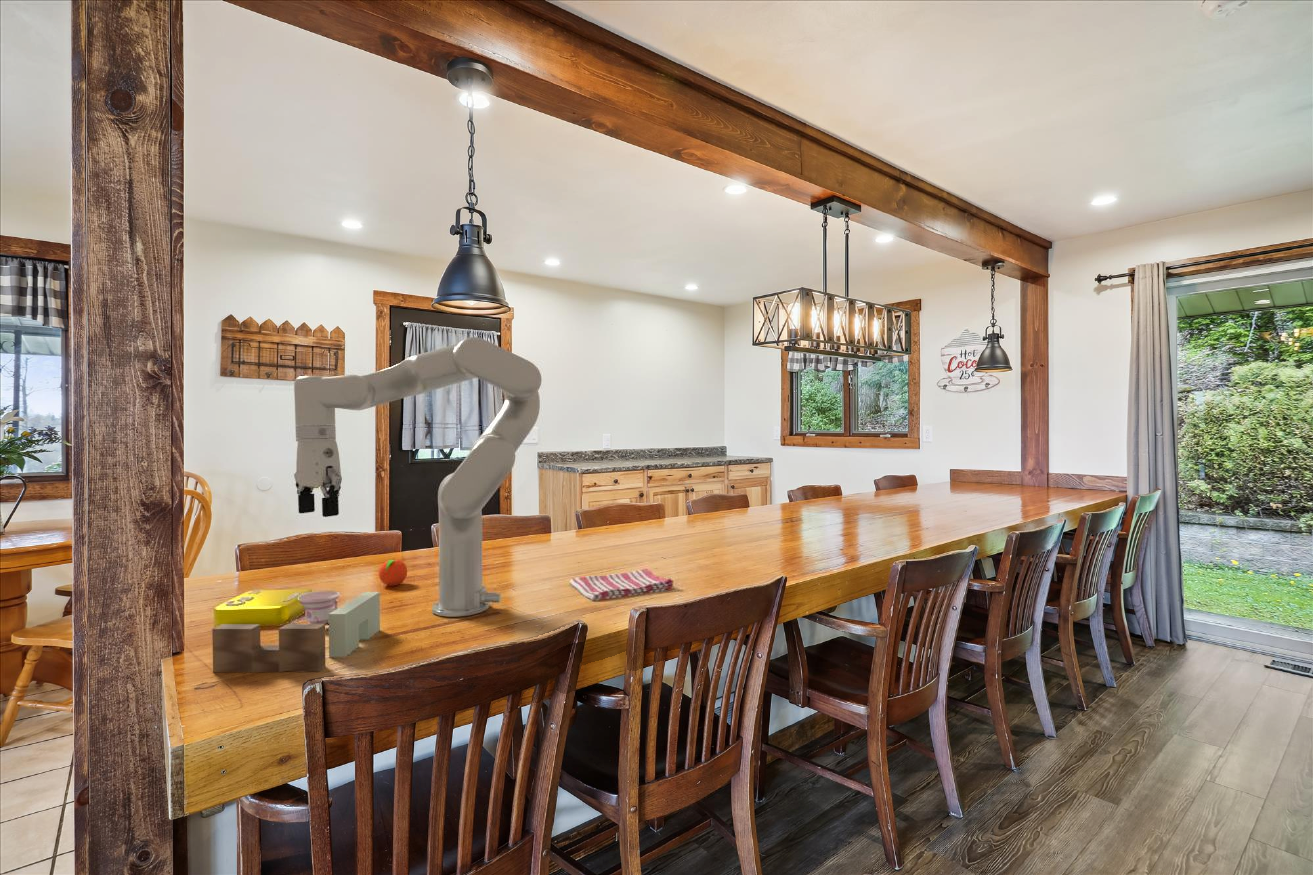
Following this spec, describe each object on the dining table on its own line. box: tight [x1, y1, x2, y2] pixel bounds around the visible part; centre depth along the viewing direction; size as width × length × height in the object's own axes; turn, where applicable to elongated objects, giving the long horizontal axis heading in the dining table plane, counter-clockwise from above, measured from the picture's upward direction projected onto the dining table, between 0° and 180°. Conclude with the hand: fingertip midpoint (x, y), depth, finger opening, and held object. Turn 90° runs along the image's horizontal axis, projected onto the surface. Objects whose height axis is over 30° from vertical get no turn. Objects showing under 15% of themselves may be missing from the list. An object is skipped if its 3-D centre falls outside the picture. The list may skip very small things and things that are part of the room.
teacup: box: [288, 590, 341, 631], centre depth 136 cm, size 12×12×6 cm
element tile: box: [213, 588, 313, 628], centre depth 141 cm, size 15×15×5 cm
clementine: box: [378, 558, 408, 587], centre depth 166 cm, size 8×7×7 cm
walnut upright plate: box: [211, 623, 326, 673], centre depth 110 cm, size 18×2×8 cm, turn 91°
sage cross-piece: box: [328, 591, 381, 658], centre depth 123 cm, size 3×15×8 cm, turn 1°
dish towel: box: [569, 568, 674, 602], centre depth 165 cm, size 17×23×4 cm
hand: (318, 514), depth 135 cm, fingers open, 9 cm apart
